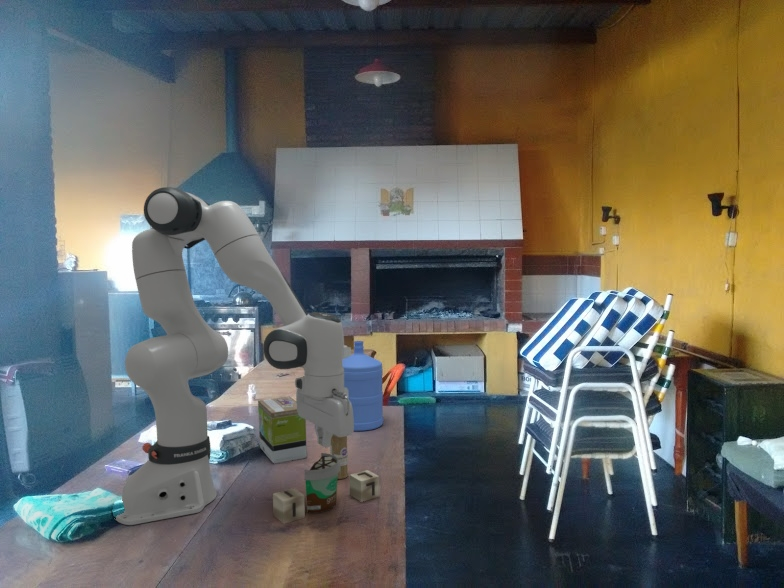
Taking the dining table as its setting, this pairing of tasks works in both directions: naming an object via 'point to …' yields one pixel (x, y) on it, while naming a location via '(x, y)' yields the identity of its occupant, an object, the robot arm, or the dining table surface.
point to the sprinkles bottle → (340, 454)
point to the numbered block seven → (364, 485)
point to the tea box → (281, 430)
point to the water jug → (364, 388)
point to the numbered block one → (288, 505)
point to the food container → (322, 484)
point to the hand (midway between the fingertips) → (324, 445)
